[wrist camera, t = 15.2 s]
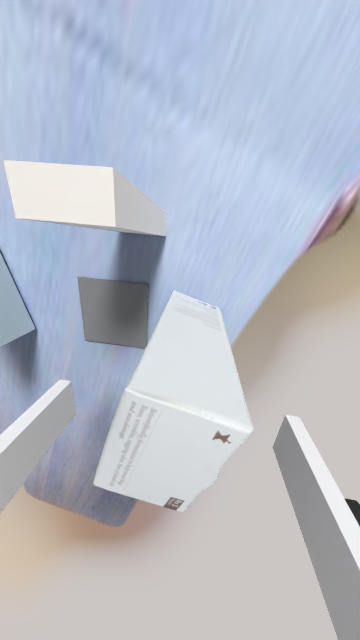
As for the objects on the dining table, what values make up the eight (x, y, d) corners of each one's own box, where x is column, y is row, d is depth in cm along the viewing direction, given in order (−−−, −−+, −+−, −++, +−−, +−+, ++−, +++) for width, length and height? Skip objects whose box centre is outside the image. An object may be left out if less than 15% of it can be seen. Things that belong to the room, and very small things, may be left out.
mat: (86, 339, 25) (85, 340, 24) (78, 276, 22) (77, 277, 21) (146, 347, 24) (146, 348, 24) (148, 284, 21) (147, 284, 21)
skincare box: (173, 288, 21) (117, 375, 7) (224, 308, 21) (264, 430, 7) (150, 349, 24) (82, 489, 10) (194, 366, 24) (185, 525, 11)
